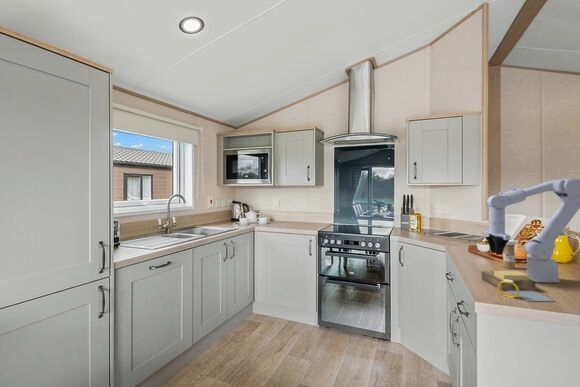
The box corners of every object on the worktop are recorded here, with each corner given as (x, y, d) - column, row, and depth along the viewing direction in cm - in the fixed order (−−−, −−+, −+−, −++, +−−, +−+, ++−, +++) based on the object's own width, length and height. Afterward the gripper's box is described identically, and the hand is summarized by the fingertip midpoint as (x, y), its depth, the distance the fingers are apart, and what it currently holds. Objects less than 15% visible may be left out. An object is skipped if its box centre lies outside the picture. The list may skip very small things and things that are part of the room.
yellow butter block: (517, 275, 113) (517, 270, 113) (529, 280, 107) (529, 275, 107) (494, 275, 114) (494, 270, 114) (503, 280, 108) (503, 275, 108)
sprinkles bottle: (503, 268, 135) (502, 240, 135) (503, 266, 139) (503, 239, 138) (515, 269, 132) (514, 241, 132) (515, 267, 136) (514, 240, 136)
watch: (519, 298, 100) (520, 282, 99) (517, 300, 98) (518, 284, 97) (499, 292, 104) (500, 277, 104) (496, 294, 103) (497, 278, 102)
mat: (531, 290, 106) (531, 289, 106) (555, 301, 95) (555, 300, 95) (506, 290, 106) (506, 289, 106) (526, 301, 96) (526, 300, 96)
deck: (511, 279, 119) (511, 271, 119) (535, 290, 106) (535, 281, 106) (481, 279, 120) (481, 271, 120) (501, 290, 107) (501, 281, 107)
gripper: (477, 220, 129) (477, 249, 130) (497, 224, 115) (497, 257, 115) (493, 220, 129) (493, 250, 129) (515, 224, 114) (515, 257, 114)
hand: (496, 253), depth 122 cm, fingers open, 3 cm apart
